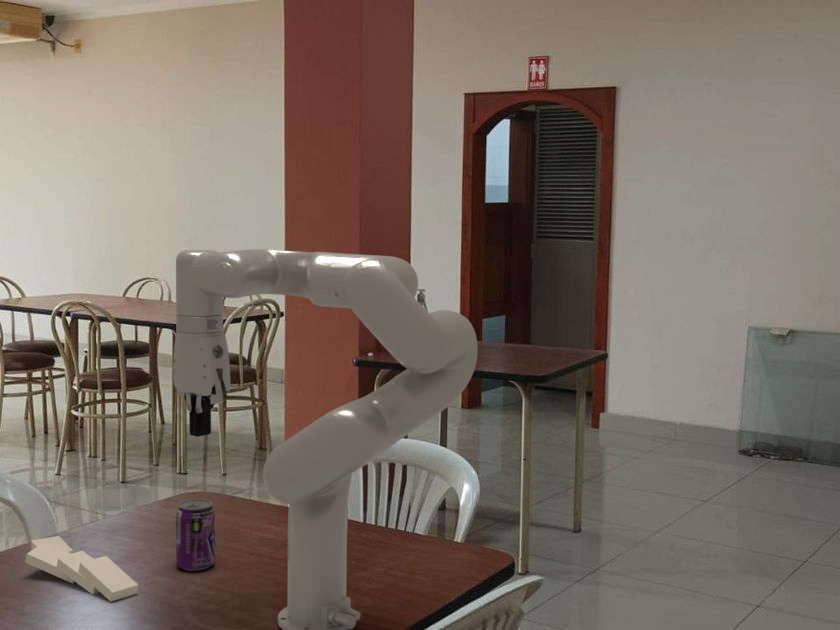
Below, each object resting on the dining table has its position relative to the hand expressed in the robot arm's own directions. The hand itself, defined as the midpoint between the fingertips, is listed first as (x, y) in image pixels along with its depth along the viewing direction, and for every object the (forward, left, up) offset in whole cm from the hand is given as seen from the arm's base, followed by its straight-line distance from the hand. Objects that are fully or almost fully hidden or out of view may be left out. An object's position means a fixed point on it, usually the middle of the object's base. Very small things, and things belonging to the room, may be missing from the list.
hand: (200, 434), depth 171 cm
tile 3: (+24, +8, -28) cm, 38 cm away
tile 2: (+17, +8, -28) cm, 34 cm away
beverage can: (+15, -10, -29) cm, 34 cm away
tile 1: (+11, +8, -28) cm, 31 cm away
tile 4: (+32, +8, -27) cm, 43 cm away
